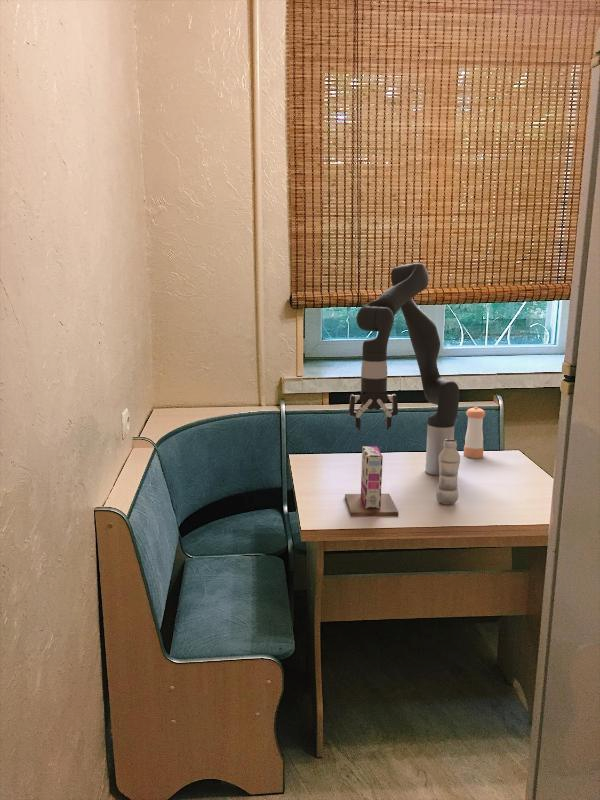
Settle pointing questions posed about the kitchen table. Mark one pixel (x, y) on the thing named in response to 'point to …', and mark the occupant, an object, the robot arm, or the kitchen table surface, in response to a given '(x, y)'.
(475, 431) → the pepper shaker
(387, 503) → the walnut board
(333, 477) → the kitchen table surface
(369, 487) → the candy bar box
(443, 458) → the plastic bottle
